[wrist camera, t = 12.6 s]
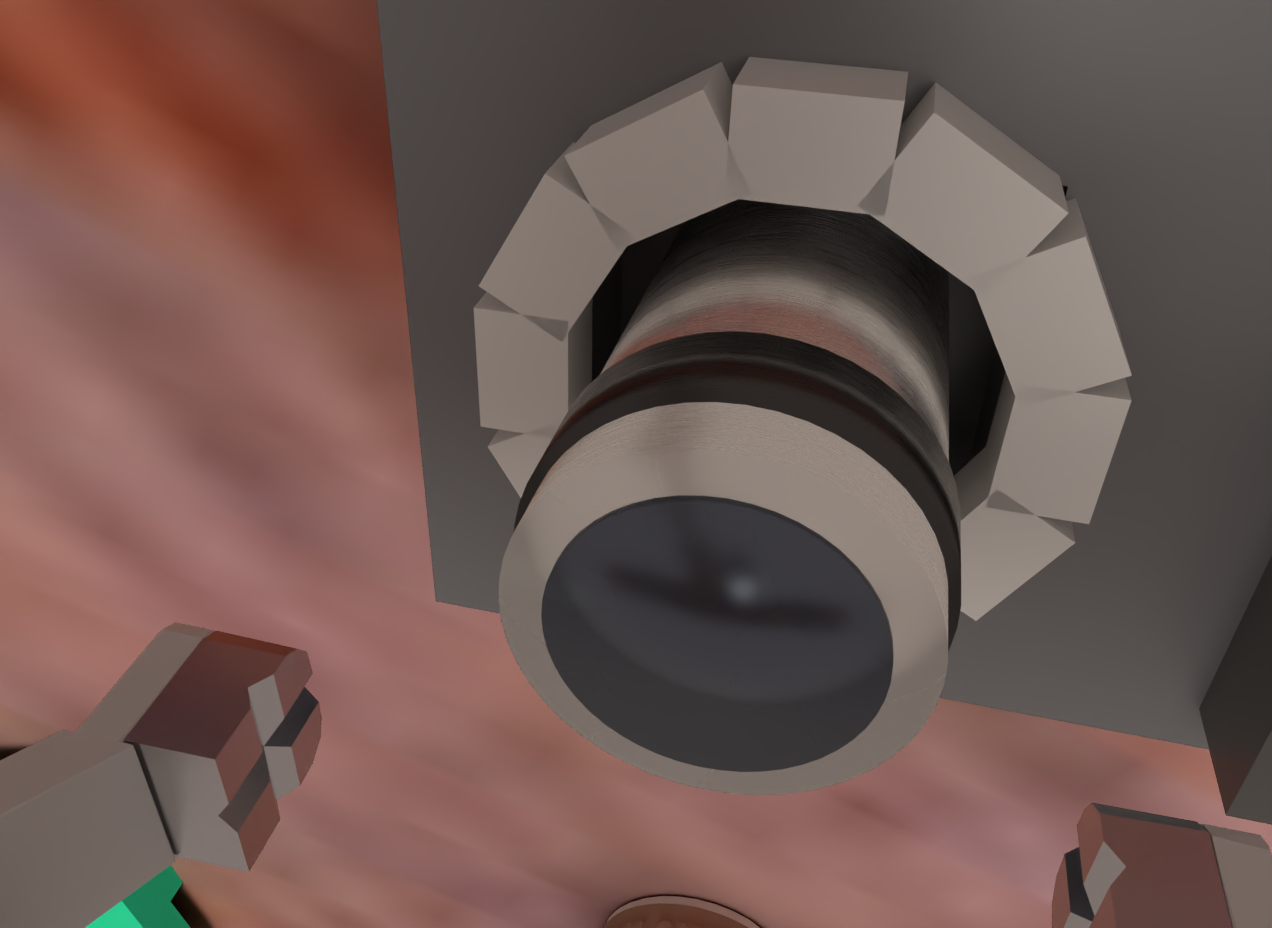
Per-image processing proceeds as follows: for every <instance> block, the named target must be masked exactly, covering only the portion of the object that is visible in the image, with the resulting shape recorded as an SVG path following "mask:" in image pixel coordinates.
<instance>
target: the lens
mask: <svg viewBox="0 0 1272 928" xmlns="http://www.w3.org/2000/svg"><path fill="white" fill-rule="evenodd" d="M499 607H500V614H501V621H502V625H503V628H504V632H505V635H506V638H507V642H508V644H509V646H510V649H511V651H512V653H513V655H514V657H515V660H516V662H517V664H518V665H519V667H520V669H521V670H522V672H523V673H524V675H525V677H526V678H527V680H528V682H529V683H530V684H531V686H532V687H533V688H534V689H535V691H536V692H537V693H538V694H539V696H540V697H541V698H542V700H543V701H544V702H545V703H546V704H547V705H548V706H549V707H550V708H551V709H552V710H553V711H554V712H555V713H556V714H557V715H558V716H559V717H560V718H561V719H562V720H563V721H564V722H566V723H567V724H568V725H569V726H570V727H572V728H573V729H574V730H575V731H576V732H578V733H579V734H580V735H581V736H583V737H584V738H586V739H587V740H589V741H590V742H592V743H593V744H594V745H596V746H597V747H599V748H600V749H602V750H604V751H605V752H607V753H609V754H611V755H613V756H614V757H616V758H618V759H620V760H621V761H623V762H625V763H628V764H630V765H632V766H634V767H636V768H639V769H641V770H643V771H645V772H647V773H650V774H653V775H656V776H659V777H662V778H664V779H667V780H670V781H673V782H677V783H681V784H685V785H688V786H692V787H696V788H701V789H707V790H712V791H718V792H724V793H736V794H748V795H777V794H787V793H797V792H804V791H809V790H814V789H819V788H824V787H828V786H831V785H834V784H837V783H840V782H843V781H847V780H850V779H852V778H854V777H857V776H859V775H861V774H863V773H865V772H867V771H869V770H872V769H874V768H875V767H877V766H878V765H880V764H881V763H883V762H885V761H886V760H888V759H889V758H891V757H893V756H894V755H895V754H896V753H897V752H898V751H900V750H901V749H902V748H903V747H904V746H905V745H907V744H908V743H909V742H910V741H911V740H912V739H913V738H914V736H915V735H916V734H917V733H918V732H919V731H920V729H921V728H922V727H923V726H924V725H925V723H926V722H927V720H928V718H929V716H930V715H931V713H932V711H933V710H934V708H935V706H936V705H937V702H938V699H939V697H940V694H941V691H942V689H943V686H944V682H945V676H946V671H947V665H948V651H949V649H950V647H951V644H952V641H953V638H954V636H955V633H956V630H957V627H958V621H959V615H960V610H961V518H960V503H959V497H958V491H957V485H956V482H955V479H954V476H953V473H952V470H951V467H950V464H949V271H947V270H946V269H944V268H943V267H942V266H940V265H939V264H938V263H936V262H935V261H933V260H932V259H931V258H929V257H928V256H926V255H925V254H924V253H922V252H921V251H920V250H918V249H917V248H915V247H914V246H913V245H911V244H910V243H909V242H907V241H906V240H904V239H903V238H902V237H900V236H899V235H898V234H896V233H895V232H893V231H892V230H891V229H889V228H888V227H887V226H885V225H884V224H882V223H881V222H880V221H878V220H877V219H876V218H874V217H873V216H871V215H870V214H862V213H854V212H845V211H837V210H828V209H820V208H811V207H803V206H794V205H785V204H777V203H768V202H760V201H751V200H743V199H737V200H735V201H732V202H730V203H728V204H725V205H723V206H720V207H718V208H716V209H713V210H711V211H709V212H706V213H704V214H702V215H699V216H697V217H694V218H692V219H690V220H687V221H685V222H683V224H682V226H681V228H680V229H679V231H678V233H677V235H676V237H675V238H674V240H673V242H672V244H671V246H670V248H669V249H668V251H667V253H666V255H665V257H664V259H663V260H662V262H661V264H660V266H659V268H658V270H657V271H656V273H655V275H654V277H653V279H652V281H651V282H650V284H649V286H648V288H647V290H646V292H645V293H644V295H643V297H642V299H641V301H640V302H639V304H638V306H637V308H636V310H635V312H634V313H633V315H632V317H631V319H630V321H629V323H628V324H627V326H626V328H625V330H624V332H623V334H622V335H621V337H620V339H619V341H618V343H617V345H616V346H615V348H614V350H613V352H612V354H611V356H610V357H609V359H608V361H607V363H606V365H605V366H604V368H603V370H602V372H601V374H600V375H599V376H598V377H597V378H596V379H595V380H594V381H592V382H591V383H590V384H589V385H588V386H587V387H586V388H585V390H584V391H583V392H582V393H581V394H580V395H579V397H578V398H577V399H576V400H575V401H574V402H573V404H572V406H571V407H570V409H569V411H568V412H567V414H566V416H565V417H564V419H563V420H562V422H561V424H560V426H559V427H558V429H557V431H556V433H555V435H554V436H553V438H552V440H551V442H550V443H549V445H548V447H547V449H546V450H545V452H544V454H543V456H542V458H541V459H540V461H539V463H538V465H537V466H536V468H535V470H534V472H533V473H532V475H531V477H530V479H529V481H528V482H527V485H526V487H525V490H524V492H523V495H522V497H521V500H520V502H519V505H518V510H517V515H516V520H515V524H514V533H513V535H512V537H511V539H510V542H509V544H508V547H507V549H506V552H505V554H504V557H503V562H502V566H501V571H500V576H499Z"/></svg>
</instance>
